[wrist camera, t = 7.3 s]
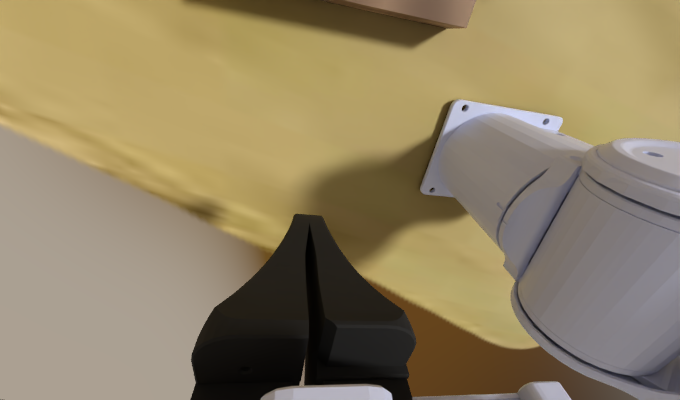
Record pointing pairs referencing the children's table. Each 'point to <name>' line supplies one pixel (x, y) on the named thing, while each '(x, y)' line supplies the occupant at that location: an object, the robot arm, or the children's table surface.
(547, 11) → the children's table surface
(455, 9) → the button board
